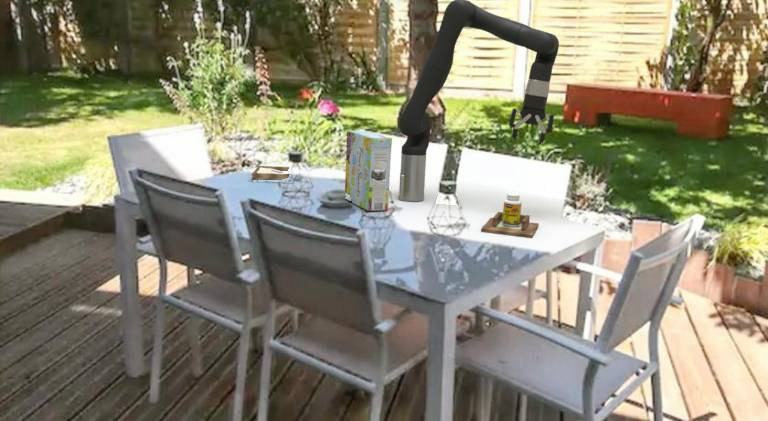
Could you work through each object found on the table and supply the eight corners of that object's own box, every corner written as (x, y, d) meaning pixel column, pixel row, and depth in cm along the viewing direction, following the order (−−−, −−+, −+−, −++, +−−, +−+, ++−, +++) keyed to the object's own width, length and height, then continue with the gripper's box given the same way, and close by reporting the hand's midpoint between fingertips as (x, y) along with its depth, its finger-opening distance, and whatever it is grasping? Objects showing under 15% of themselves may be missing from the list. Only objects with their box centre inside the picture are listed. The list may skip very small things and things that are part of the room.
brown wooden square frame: (480, 231, 226) (481, 219, 225) (490, 220, 241) (491, 209, 240) (531, 238, 221) (532, 225, 220) (538, 226, 236) (539, 214, 235)
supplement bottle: (500, 226, 229) (503, 195, 226) (503, 222, 234) (505, 191, 232) (518, 228, 227) (521, 196, 225) (520, 224, 232) (523, 193, 230)
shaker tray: (252, 181, 287) (252, 173, 286) (258, 173, 304) (258, 165, 303) (292, 183, 287) (293, 174, 287) (297, 175, 304) (297, 167, 303)
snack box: (390, 211, 248) (393, 137, 242) (367, 212, 244) (370, 138, 238) (364, 197, 267) (366, 129, 261) (343, 199, 263) (345, 129, 257)
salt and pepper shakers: (253, 181, 289) (280, 183, 288) (253, 171, 288) (280, 173, 287) (260, 176, 300) (286, 178, 300) (260, 166, 299) (286, 168, 299)
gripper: (516, 91, 233) (507, 140, 237) (559, 98, 233) (549, 146, 237) (514, 90, 241) (505, 137, 244) (556, 96, 240) (546, 143, 244)
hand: (527, 142), depth 241 cm, fingers open, 8 cm apart
